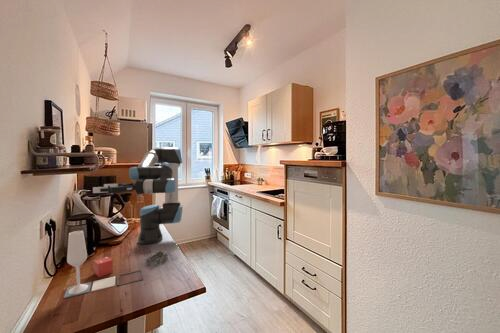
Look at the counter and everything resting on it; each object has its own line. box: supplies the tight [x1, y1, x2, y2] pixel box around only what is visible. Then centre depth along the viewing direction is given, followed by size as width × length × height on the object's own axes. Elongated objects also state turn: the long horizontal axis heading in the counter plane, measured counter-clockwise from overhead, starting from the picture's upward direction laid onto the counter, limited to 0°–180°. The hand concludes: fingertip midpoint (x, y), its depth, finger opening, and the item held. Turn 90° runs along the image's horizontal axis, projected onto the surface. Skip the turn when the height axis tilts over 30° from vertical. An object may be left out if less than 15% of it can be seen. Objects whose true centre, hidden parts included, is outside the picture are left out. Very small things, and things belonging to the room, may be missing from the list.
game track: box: [62, 269, 144, 300], centre depth 98 cm, size 28×10×1 cm, turn 119°
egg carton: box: [144, 249, 169, 267], centre depth 119 cm, size 11×8×4 cm
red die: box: [93, 256, 114, 278], centre depth 108 cm, size 6×6×7 cm
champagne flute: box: [66, 230, 88, 294], centre depth 93 cm, size 7×7×24 cm
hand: (98, 188), depth 113 cm, fingers open, 13 cm apart
